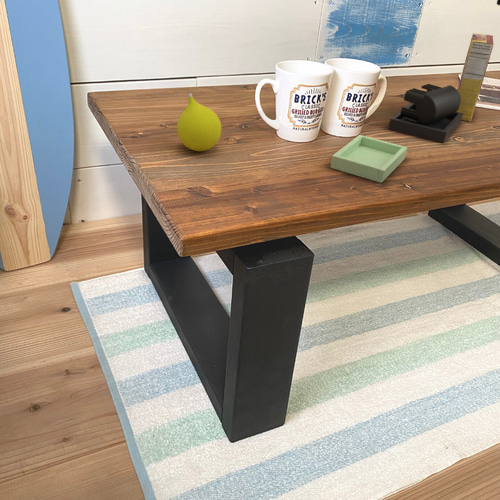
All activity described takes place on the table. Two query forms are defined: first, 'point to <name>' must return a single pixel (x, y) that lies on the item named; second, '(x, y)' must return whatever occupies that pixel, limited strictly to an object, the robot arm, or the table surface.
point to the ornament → (198, 126)
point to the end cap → (431, 104)
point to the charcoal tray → (432, 132)
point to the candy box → (474, 73)
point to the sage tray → (369, 158)
